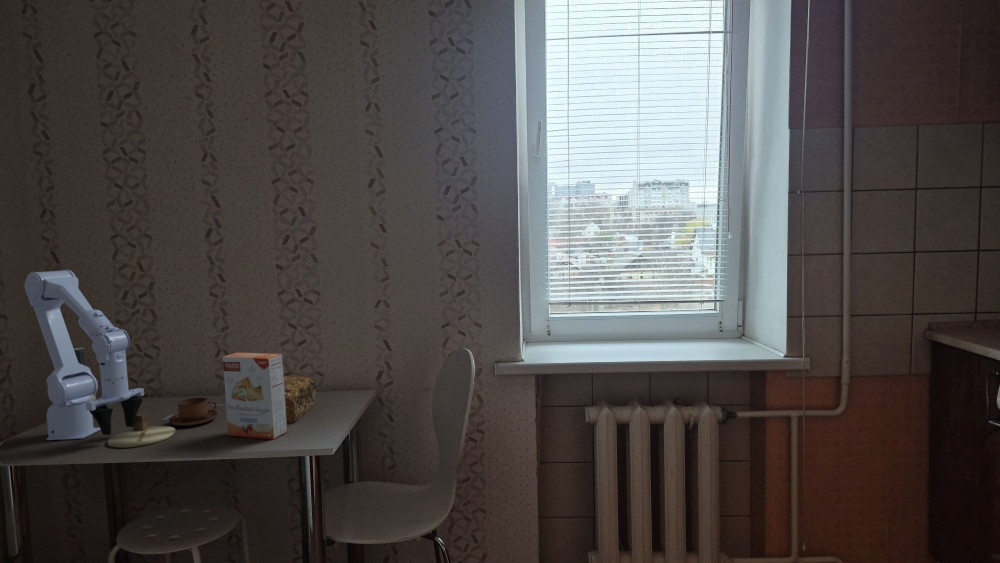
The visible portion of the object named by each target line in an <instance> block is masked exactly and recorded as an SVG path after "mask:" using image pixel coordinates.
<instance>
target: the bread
mask: <svg viewBox="0 0 1000 563" xmlns="http://www.w3.org/2000/svg"><path fill="white" fill-rule="evenodd" d="M284 389H285V404H286V419H287V424H295V423H297V422H298V420H301V419H302V417H304V415H306V414H307V413H308V412H309V411H310V410H311V409H312V408H313V407H314V405H315V404H316V403H315V402H316V394H317V393H316V392H317V390H316V384H315V382H314V380H313V379H311V378H309V377H308V376H305V375H301V374H290V375H285V376H284Z"/></svg>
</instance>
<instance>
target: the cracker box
mask: <svg viewBox="0 0 1000 563" xmlns="http://www.w3.org/2000/svg"><path fill="white" fill-rule="evenodd" d="M283 360H284V359H283V354H282V353H262V352H258V353H257V352H235V353H232V354H231V353H230V354H226V355H224V356H222V366H223V381H224V394H225V405H226V406H225V408H226V421H227V433H228V434H227V435H228V436H229V437H230V436H231V437H243V438H252V439H253V438H254V439H265V440H275V439H277V438H280V436H282V435H284V434H287V433H288V423H287V419H286V404H285V389H284V377H285V376H284V362H283Z"/></svg>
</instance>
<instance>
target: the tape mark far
mask: <svg viewBox="0 0 1000 563" xmlns="http://www.w3.org/2000/svg"><path fill="white" fill-rule="evenodd" d="M214 406H215V405H214V404H211V407H214ZM217 407H226V404H217Z"/></svg>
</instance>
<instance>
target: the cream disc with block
mask: <svg viewBox="0 0 1000 563" xmlns="http://www.w3.org/2000/svg"><path fill="white" fill-rule="evenodd" d="M148 424H149V422H148V413H147V412H146V413H145V412H143V413H141V412H140V413H137V415H136V419H135V425H134V427H132V429H130V430H126V431H123V432H120V433H118V434H115V435H113V436H111V437H110V438H109V439H108V440H107V445H108V446H109V447H112V448H117V449H119V448H121V449H123V448H124V449H125V448H134V447H135V448H136V447H141V446H147V445H151V444H155V443H158V442H162V441H164V440H168V439H170V438H171V437H173V436H174V435H176V428H174V427H172V426H167V425H155V426H154V425H153V426H148Z"/></svg>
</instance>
